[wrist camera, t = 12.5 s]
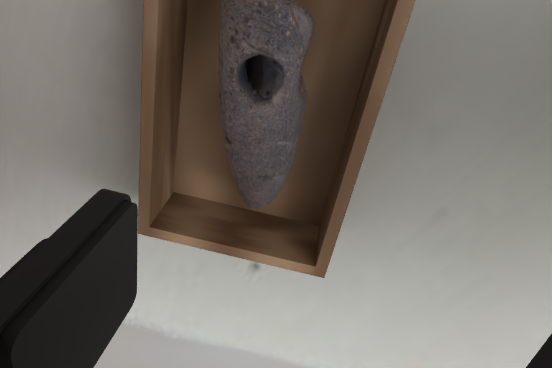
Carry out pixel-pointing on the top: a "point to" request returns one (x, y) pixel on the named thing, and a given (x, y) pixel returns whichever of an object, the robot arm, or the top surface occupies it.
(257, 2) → the perforated stone tool
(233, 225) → the box
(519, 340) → the top surface
